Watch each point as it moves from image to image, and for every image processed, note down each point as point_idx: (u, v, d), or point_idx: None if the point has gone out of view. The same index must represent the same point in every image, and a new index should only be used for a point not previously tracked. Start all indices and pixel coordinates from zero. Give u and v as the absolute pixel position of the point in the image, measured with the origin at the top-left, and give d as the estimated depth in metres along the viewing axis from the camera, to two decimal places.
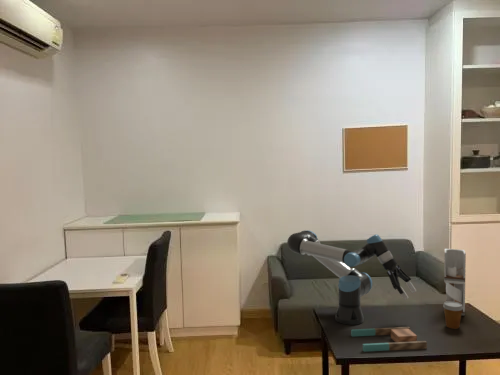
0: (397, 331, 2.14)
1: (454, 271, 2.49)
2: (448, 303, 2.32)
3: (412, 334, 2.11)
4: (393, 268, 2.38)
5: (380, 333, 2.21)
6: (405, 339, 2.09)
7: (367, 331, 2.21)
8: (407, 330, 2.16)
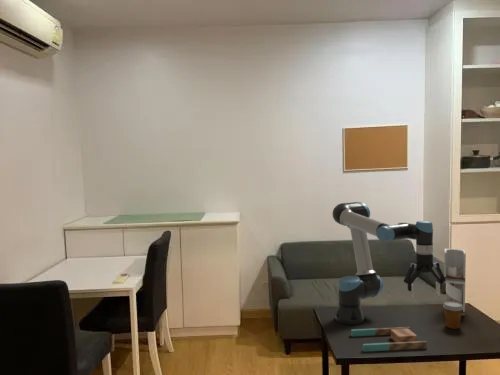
0: (397, 332, 2.14)
1: (454, 271, 2.49)
2: (448, 303, 2.32)
3: (412, 334, 2.11)
4: (422, 264, 2.12)
5: (380, 333, 2.21)
6: (405, 339, 2.09)
7: (367, 331, 2.21)
8: (407, 330, 2.16)
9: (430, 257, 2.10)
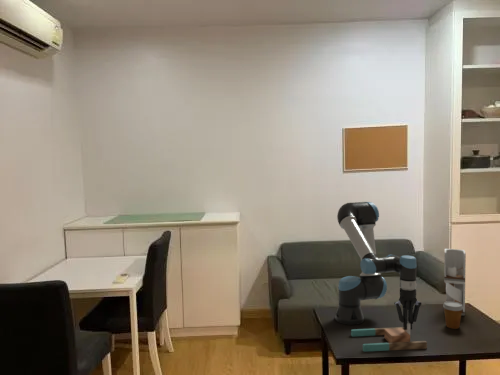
0: (390, 331, 2.14)
1: (454, 271, 2.49)
2: (448, 303, 2.32)
3: (406, 334, 2.11)
4: (405, 299, 2.12)
5: (380, 333, 2.21)
6: (399, 338, 2.09)
7: (367, 331, 2.21)
8: (401, 330, 2.16)
9: (413, 293, 2.09)
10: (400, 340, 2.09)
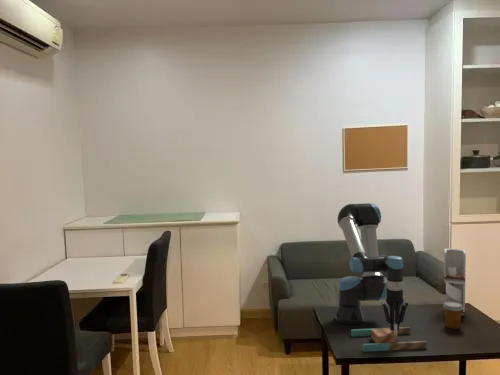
0: (377, 332, 2.14)
1: (454, 271, 2.49)
2: (448, 303, 2.32)
3: (392, 334, 2.11)
4: (392, 299, 2.11)
5: None
6: (385, 339, 2.09)
7: (367, 331, 2.21)
8: (387, 330, 2.16)
9: (400, 293, 2.09)
10: (387, 341, 2.09)
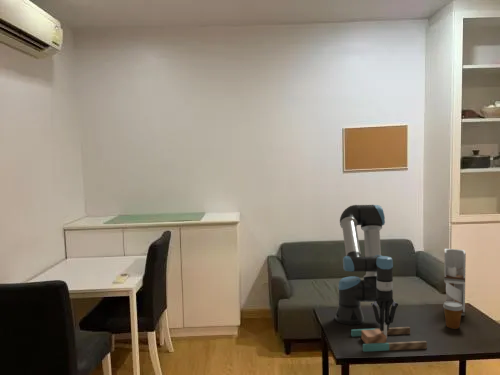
0: (367, 332, 2.14)
1: (454, 271, 2.49)
2: (448, 303, 2.32)
3: (382, 335, 2.10)
4: (382, 300, 2.11)
5: None
6: (375, 339, 2.09)
7: None
8: (377, 331, 2.15)
9: (389, 294, 2.08)
10: (376, 341, 2.09)
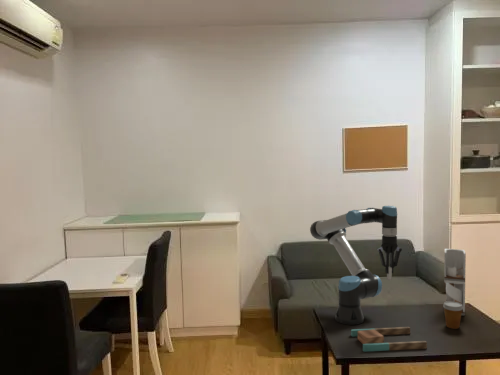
0: (364, 333, 2.13)
1: (454, 271, 2.49)
2: (448, 303, 2.32)
3: (379, 335, 2.11)
4: (387, 245, 2.32)
5: (380, 333, 2.21)
6: (373, 340, 2.09)
7: None
8: (373, 331, 2.16)
9: (394, 239, 2.29)
10: (374, 341, 2.09)
